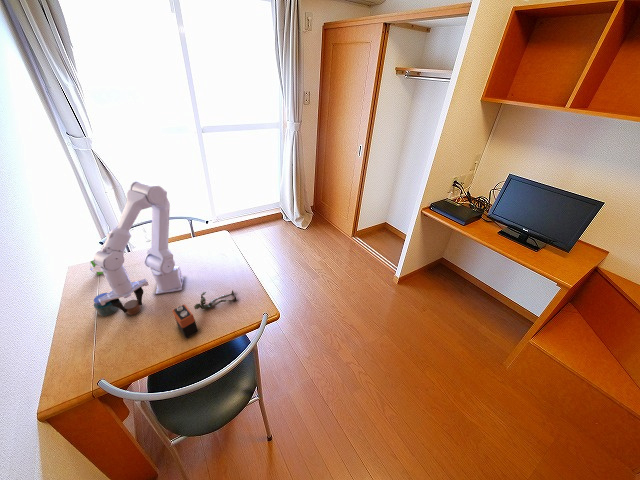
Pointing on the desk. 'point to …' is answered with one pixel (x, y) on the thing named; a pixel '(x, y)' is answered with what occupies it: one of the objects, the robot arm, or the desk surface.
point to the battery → (185, 320)
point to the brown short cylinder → (132, 307)
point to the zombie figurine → (212, 303)
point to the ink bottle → (104, 309)
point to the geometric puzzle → (96, 268)
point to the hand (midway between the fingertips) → (132, 307)
